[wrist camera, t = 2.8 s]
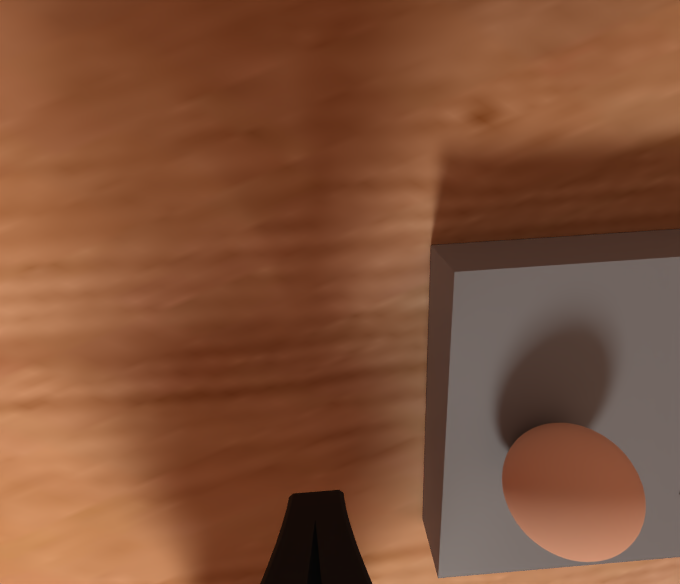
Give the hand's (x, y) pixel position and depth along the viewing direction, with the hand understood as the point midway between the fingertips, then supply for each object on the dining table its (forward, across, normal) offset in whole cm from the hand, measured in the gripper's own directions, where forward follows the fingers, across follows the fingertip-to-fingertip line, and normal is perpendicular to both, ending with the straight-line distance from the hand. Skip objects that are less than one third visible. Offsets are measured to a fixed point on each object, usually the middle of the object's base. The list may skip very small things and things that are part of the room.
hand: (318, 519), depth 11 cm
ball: (0, -7, 0) cm, 7 cm away
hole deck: (+5, -12, 0) cm, 12 cm away
